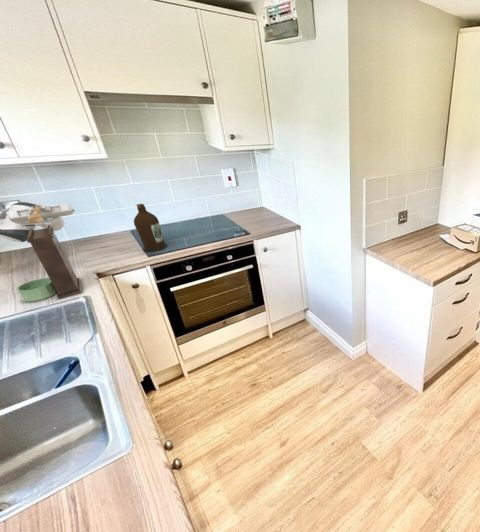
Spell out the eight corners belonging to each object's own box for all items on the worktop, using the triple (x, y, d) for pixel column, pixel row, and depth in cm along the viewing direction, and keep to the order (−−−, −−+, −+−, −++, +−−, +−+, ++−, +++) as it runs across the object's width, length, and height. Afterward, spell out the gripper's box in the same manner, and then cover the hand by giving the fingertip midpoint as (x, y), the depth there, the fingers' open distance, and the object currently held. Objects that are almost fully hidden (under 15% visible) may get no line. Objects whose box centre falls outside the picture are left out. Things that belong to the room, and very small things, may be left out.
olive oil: (139, 252, 174) (122, 207, 163) (151, 244, 183) (135, 201, 172) (160, 251, 175) (144, 207, 163) (170, 244, 184) (156, 201, 173)
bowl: (22, 305, 128) (15, 293, 126) (24, 294, 135) (18, 283, 132) (58, 296, 135) (52, 285, 132) (59, 286, 141) (53, 275, 139)
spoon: (29, 223, 127) (27, 218, 126) (33, 209, 141) (31, 205, 141) (42, 221, 129) (40, 216, 128) (44, 207, 144) (42, 203, 143)
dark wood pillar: (58, 299, 133) (25, 238, 120) (59, 285, 142) (28, 227, 130) (81, 293, 137) (51, 234, 125) (80, 279, 147) (52, 224, 134)
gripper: (78, 218, 156) (72, 210, 146) (16, 227, 144) (5, 219, 133) (73, 205, 156) (66, 196, 145) (11, 213, 143) (-1, 205, 132)
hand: (36, 207), depth 139 cm, fingers closed on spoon, 2 cm apart
